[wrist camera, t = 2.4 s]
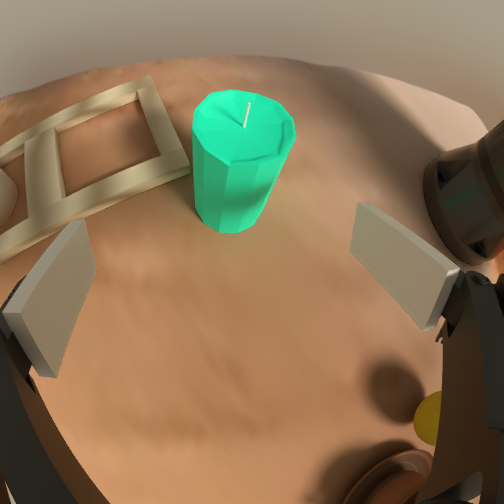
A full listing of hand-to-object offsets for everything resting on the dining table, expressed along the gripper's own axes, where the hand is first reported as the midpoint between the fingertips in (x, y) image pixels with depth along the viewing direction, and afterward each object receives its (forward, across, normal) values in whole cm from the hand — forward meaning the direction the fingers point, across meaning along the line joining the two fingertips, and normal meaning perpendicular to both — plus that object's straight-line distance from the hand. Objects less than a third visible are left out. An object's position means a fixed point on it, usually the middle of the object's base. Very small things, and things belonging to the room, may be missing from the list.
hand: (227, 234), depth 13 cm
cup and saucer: (-10, +14, -26) cm, 31 cm away
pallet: (+16, -17, +1) cm, 23 cm away
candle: (+12, +2, -3) cm, 13 cm away
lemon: (-4, +18, -19) cm, 27 cm away
